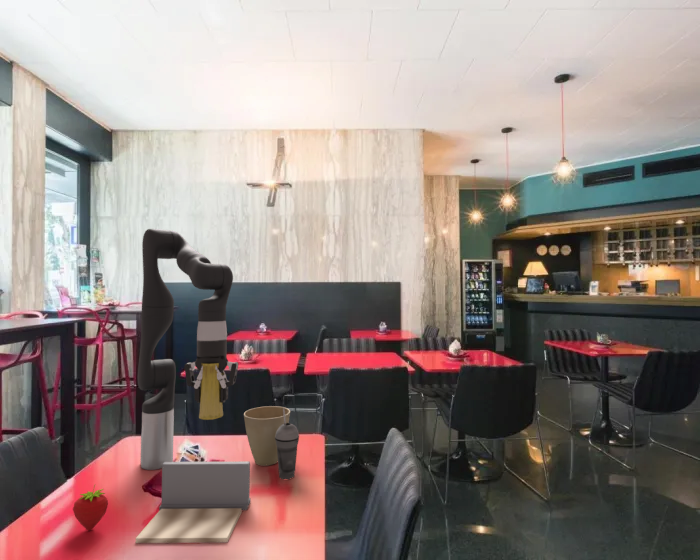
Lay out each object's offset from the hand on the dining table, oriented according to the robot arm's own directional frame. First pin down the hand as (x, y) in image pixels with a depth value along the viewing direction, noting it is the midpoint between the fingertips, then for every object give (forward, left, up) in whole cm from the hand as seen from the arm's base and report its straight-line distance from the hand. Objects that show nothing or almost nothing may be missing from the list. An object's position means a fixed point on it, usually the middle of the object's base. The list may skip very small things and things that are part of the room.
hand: (211, 401), depth 105 cm
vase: (0, 0, -4) cm, 4 cm away
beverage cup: (+6, +23, -26) cm, 35 cm away
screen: (+1, -2, -26) cm, 26 cm away
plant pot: (-7, +27, -26) cm, 38 cm away
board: (+6, -9, -26) cm, 28 cm away
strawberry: (-12, -23, -26) cm, 37 cm away
